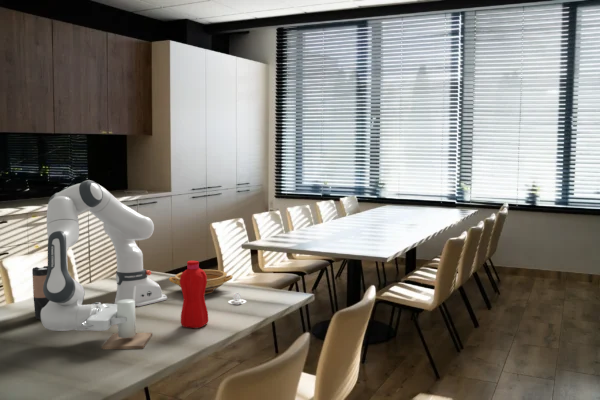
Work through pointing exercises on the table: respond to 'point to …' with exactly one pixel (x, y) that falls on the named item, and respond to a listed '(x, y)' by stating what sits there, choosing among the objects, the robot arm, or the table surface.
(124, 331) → the white rounded block
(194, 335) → the table surface
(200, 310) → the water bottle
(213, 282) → the wicker basket
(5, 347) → the table surface
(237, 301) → the teacup and saucer
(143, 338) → the walnut coaster
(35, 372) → the table surface
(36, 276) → the travel mug
